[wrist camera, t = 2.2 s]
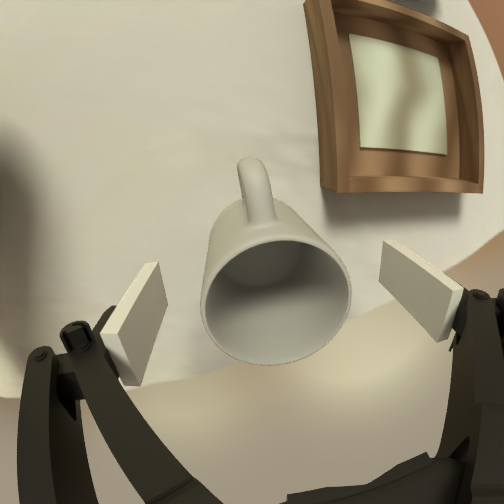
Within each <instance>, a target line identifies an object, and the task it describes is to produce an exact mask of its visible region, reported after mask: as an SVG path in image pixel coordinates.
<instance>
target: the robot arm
mask: <svg viewBox="0 0 504 504" xmlns="http://www.w3.org/2000/svg"><path fill="white" fill-rule="evenodd" d="M379 282H380V283H381V284H382V285H383V286H384V287H385V288H386V289H387V290H388V291H389V292H390V293H391V294H392V295H393V296H394V297H395V298H396V299H397V300H398V301H399V302H400V303H401V305H403V307H404V308H405V309H406V310H407V311H408V312H409V313H410V314H411V315H412V316H413V317H414V318H415V319H416V320H417V321H418V322H419V323H420V325H421V326H422V327H423V328H424V329H425V330H426V331H427V332H428V333H429V334H430V335H431V337H432V338H433V339H434V340H435V341H436V342H437V343H438V342H440V341H443V340H446V339H448V337H449V334H450V332H451V329H452V328H453V329H454V330H455V331H456V333H455V336H454V339H453V342H452V344H451V346H450V349H449V351H451V349H452V348H453V361H452V374H451V384H450V393H449V400H448V407H447V413H446V418H445V424H444V429H443V433H442V438H441V443H440V446H439V450H438V452H437V454H436V456H435V458H430V457H429V456H428V454H427V452H425V453H423V454H421V455H418V456H416V457H414V458H412V459H409V460H407V461H405V462H402V463H400V464H398V465H396V466H395V467H393V468H392V469H391V470H389V471H387V472H386V473H384V474H383V475H381V476H380V477H378V478H377V479H375V480H373V481H372V482H370V483H368V484H365V485H358V486H344V487H325V488H320V489H315V490H310V491H305V492H300V493H294V494H287V501H286V502H283V503H280V504H504V288H503V289H500V290H499V293H498V296H497V298H491V297H490V296H489V295H488V294H487V293H486V292H484V291H482V290H478V289H473V290H470V291H468V290H467V289H465V288H464V287H463V286H461V285H460V284H459V283H457V282H455V281H454V280H453V279H452V278H450V277H449V276H448V275H446V274H445V273H443V272H441V271H440V270H438V269H437V268H435V267H434V266H433V265H431V264H430V263H428V262H427V261H425V260H424V259H422V258H421V257H419V256H418V255H416V254H415V253H413V252H412V251H410V250H409V249H407V248H406V247H404V246H403V245H401V244H400V243H398V242H396V241H395V240H383V247H382V257H381V267H380V275H379ZM167 306H168V302H167V298H166V294H165V289H164V285H163V281H162V276H161V272H160V267H159V262H150V263H145V265H144V266H143V268H142V269H141V271H140V272H139V273H138V275H137V276H136V278H135V279H134V281H133V282H132V284H131V285H130V287H129V288H128V290H127V291H126V293H125V294H124V296H123V297H122V299H121V300H120V302H119V303H118V305H117V306H111V307H110V308H109V309H107V310H106V311H105V312H104V313H103V315H102V316H101V319H99V321H98V322H97V324H96V325H95V327H94V328H93V330H92V331H91V328H90V326H89V324H88V323H87V322H85V321H75V322H72V323H70V324H68V325H66V326H65V327H64V328H63V329H62V330H61V332H60V338H61V340H62V342H63V344H64V346H65V348H66V350H67V352H68V353H65V354H59V355H55V353H54V351H53V349H52V348H51V347H49V346H42V347H38V348H36V349H35V350H33V352H32V353H31V354H30V355H29V357H28V361H27V366H26V371H25V376H24V382H23V388H22V395H21V402H20V410H19V411H20V412H19V421H18V437H17V477H18V491H19V501H20V504H98V500H97V497H96V493H95V489H94V486H93V482H92V477H91V473H90V468H89V463H88V458H87V453H86V448H85V442H84V435H83V427H82V419H81V409H80V400H81V399H85V400H86V402H87V404H88V406H89V409H90V411H91V413H92V415H93V417H94V419H95V421H96V424H97V425H98V427H99V430H100V432H101V433H102V435H103V437H104V439H105V441H106V443H107V445H108V446H109V448H110V450H111V452H112V454H113V455H114V457H115V459H116V460H117V462H118V463H119V465H120V467H121V468H122V470H123V472H124V473H125V475H126V476H127V478H128V479H129V481H130V482H131V484H132V485H133V487H134V488H135V489H136V491H137V492H138V494H139V495H140V496H141V498H142V499H143V501H144V502H145V504H223V503H222V502H221V501H220V500H219V499H218V498H216V497H215V496H214V495H213V494H212V493H211V492H210V491H209V490H208V489H207V488H206V487H205V486H204V485H203V484H202V483H200V482H199V481H198V480H197V479H195V478H194V477H193V476H192V475H191V474H190V473H189V472H188V471H187V470H186V469H185V468H184V467H183V466H182V465H181V463H179V461H178V460H177V459H176V458H175V457H174V456H173V455H172V453H171V452H170V451H169V450H168V449H167V447H166V446H165V445H164V444H163V443H162V441H161V440H160V439H159V437H158V436H157V435H156V434H155V433H154V431H153V430H152V429H151V427H150V426H149V425H148V423H147V422H146V421H145V419H144V418H143V417H142V415H141V414H140V412H139V411H138V410H137V408H136V407H135V405H134V404H133V402H132V401H131V399H130V398H129V396H128V395H127V393H126V392H125V390H124V389H123V387H122V385H121V384H120V382H119V381H118V378H119V376H120V378H121V380H122V382H123V384H124V385H125V386H141V383H142V380H143V376H144V373H145V370H146V367H147V364H148V361H149V358H150V355H151V352H152V349H153V346H154V343H155V340H156V337H157V334H158V331H159V328H160V325H161V323H162V320H163V317H164V314H165V311H166V309H167Z"/></svg>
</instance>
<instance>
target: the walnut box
mask: <svg viewBox="0 0 504 504" xmlns="http://www.w3.org/2000/svg"><path fill="white" fill-rule="evenodd" d="M303 5H304V11H305V17H306V23H307V30H308V37H309V44H310V51H311V59H312V68H313V77H314V87H315V97H316V109H317V122H318V138H319V157H320V186H322V187H325V188H327V189H329V190H332V191H334V192H336V193H355V192H458V193H481V194H483V182H484V128H483V114H482V104H481V96H480V89H479V82H478V76H477V71H476V66H475V61H474V56H473V52H472V48H471V44H470V40H469V36H468V35H466V34H464V33H462V32H460V31H458V30H456V29H455V28H453V27H451V26H449V25H447V24H444V23H442V22H440V21H438V20H436V19H434V18H431V17H429V16H427V15H425V14H422V13H420V12H417V11H415V10H412V9H409V8H407V7H404V6H401V5H398V4H395V3H392V2H389V1H386V0H306V1H305V2H304V4H303Z"/></svg>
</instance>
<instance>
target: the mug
mask: <svg viewBox="0 0 504 504" xmlns="http://www.w3.org/2000/svg"><path fill="white" fill-rule="evenodd" d="M237 170H238V176H239V182H240V187H241V193H242V199H241V200H238V201H236V202H235V203H233V204H231V205H230V206H228V207H227V208H226V209H225V210H224V211H223V212H222V213H221V214H220V215H219V216H218V218H217V219H216V221H215V223H214V225H213V227H212V230H211V234H210V238H209V247H208V253H207V259H206V265H205V271H204V277H203V284H202V290H201V300H200V308H201V316H202V321H203V324H204V326H205V329H206V331H207V333H208V334H209V336H210V338H211V339H212V340H213V342H214V343H215V344H216V345H217V346H218V347H219V348H220V349H221V350H223V351H224V352H225V353H227V354H228V355H230V356H232V357H234V358H236V359H238V360H241V361H243V362H247V363H251V364H256V365H267V366H271V365H282V364H288V363H291V362H295V361H298V360H301V359H303V358H305V357H307V356H309V355H311V354H313V353H315V352H317V351H318V350H319V349H321V348H322V347H324V346H325V345H326V344H327V343H328V342H329V341H330V340H331V339H332V338H333V337H334V336H335V335H336V334H337V332H338V331H339V330H340V328H341V327H342V325H343V323H344V321H345V319H346V317H347V315H348V312H349V309H350V304H351V297H352V290H351V282H350V277H349V274H348V272H347V269H346V267H345V265H344V264H343V262H342V260H341V259H340V258H339V256H338V255H337V254H336V253H335V251H334V250H333V249H332V248H331V247H330V246H329V245H328V244H327V243H326V242H325V241H324V240H323V239H322V238H321V237H320V236H319V235H318V234H317V233H316V232H315V231H314V230H313V229H312V228H311V227H310V226H309V225H308V224H307V223H306V222H305V221H303V220H302V219H301V218H300V216H299V215H298V214H297V213H296V212H295V211H294V210H293V209H292V208H291V207H289V206H288V205H286V204H285V203H283V202H282V201H279V200H277V199H274V198H273V197H272V191H271V186H270V182H269V178H268V174H267V171H266V169H265V166H264V164H263V162H262V161H261V160H259V159H258V158H255V157H247V158H244V159H242V160H240V161H239V162H238V164H237Z"/></svg>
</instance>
